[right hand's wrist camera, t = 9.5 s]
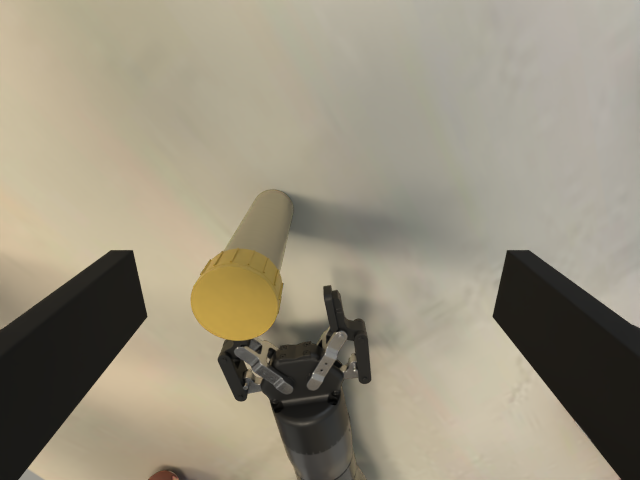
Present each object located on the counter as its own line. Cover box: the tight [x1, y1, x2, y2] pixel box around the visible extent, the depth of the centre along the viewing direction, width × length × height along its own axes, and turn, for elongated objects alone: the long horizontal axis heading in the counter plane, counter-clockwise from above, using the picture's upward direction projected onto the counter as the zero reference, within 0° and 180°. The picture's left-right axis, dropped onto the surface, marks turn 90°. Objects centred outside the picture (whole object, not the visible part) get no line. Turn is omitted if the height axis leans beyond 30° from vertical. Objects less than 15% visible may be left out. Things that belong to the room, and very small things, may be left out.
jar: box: [223, 190, 293, 273], centre depth 28 cm, size 4×4×17 cm
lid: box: [191, 248, 283, 341], centre depth 20 cm, size 5×5×2 cm
